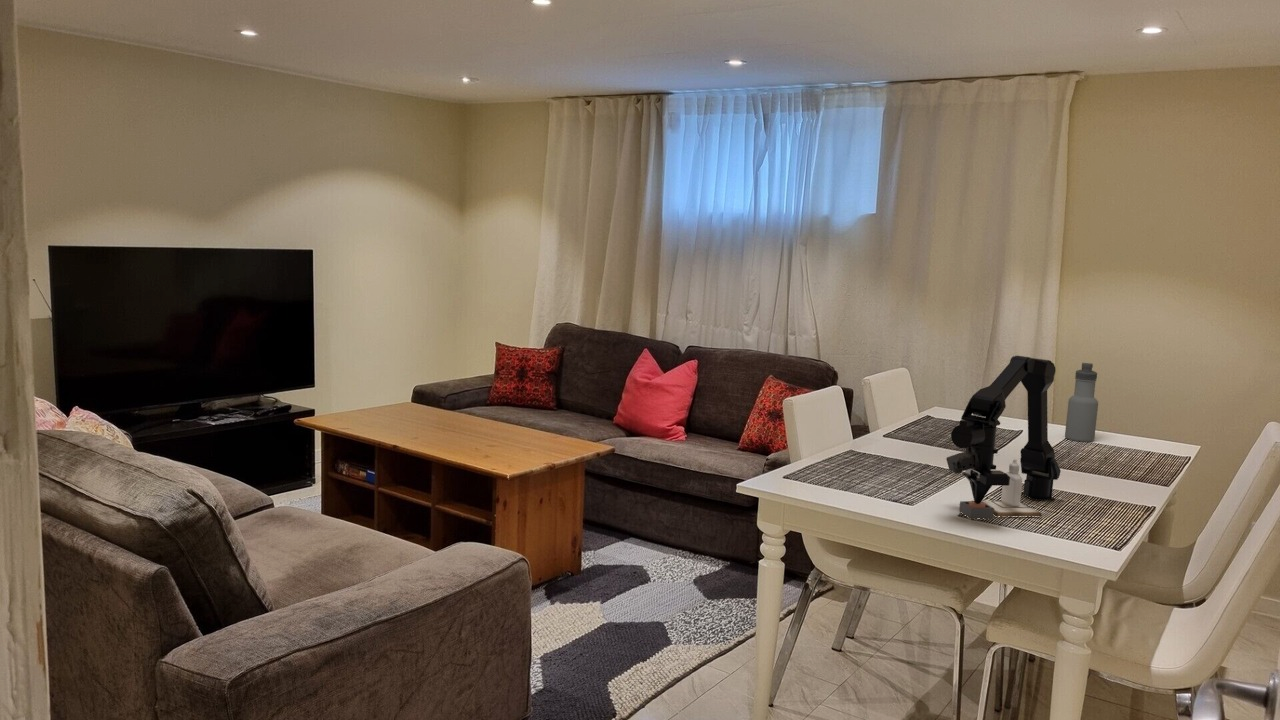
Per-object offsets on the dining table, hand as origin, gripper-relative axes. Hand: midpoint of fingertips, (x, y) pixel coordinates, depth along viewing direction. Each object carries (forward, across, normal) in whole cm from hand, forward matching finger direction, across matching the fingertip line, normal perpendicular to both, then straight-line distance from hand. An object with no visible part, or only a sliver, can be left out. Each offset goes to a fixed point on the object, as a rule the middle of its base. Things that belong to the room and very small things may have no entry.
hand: (977, 503), depth 233 cm
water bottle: (+4, -90, +88) cm, 126 cm away
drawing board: (+3, -4, +11) cm, 12 cm away
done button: (+2, 0, 0) cm, 2 cm away
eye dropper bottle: (+2, -6, +12) cm, 14 cm away
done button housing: (+3, 0, 0) cm, 3 cm away
